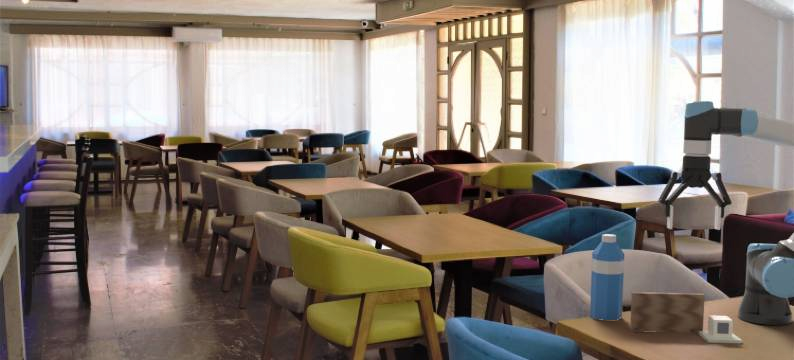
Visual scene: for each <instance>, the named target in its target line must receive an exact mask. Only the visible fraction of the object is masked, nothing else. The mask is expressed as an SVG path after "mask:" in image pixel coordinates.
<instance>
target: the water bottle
mask: <svg viewBox="0 0 794 360" xmlns="http://www.w3.org/2000/svg"><path fill="white" fill-rule="evenodd" d="M591 255H592V256H591V279H590V283H591V284H590V301H589V302H590V306H589V316H590V318H592V317H594V318H596V319H595V320H597V319H603V320H617V319H619V318H620V317H622V318H623V300H624V299H623V298H624V295H623V294H624V278H625V277H624V275H625V273H624V272H625V253H624V251H623V250H622V248H621V247H620V246H619V244H618V243H617V235H616V234H611V233H605V234H601V241H600V243H599V244H598V245H597V246H596V247H595V249H594V250H592V253H591ZM594 318H593V319H594ZM603 320H602V321H603Z"/></svg>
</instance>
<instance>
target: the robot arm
mask: <svg viewBox="0 0 794 360" xmlns="http://www.w3.org/2000/svg"><path fill="white" fill-rule="evenodd" d="M683 124H684V126H683V127H684V130H683V131H684V132H683V148H682V149H683V152H682V153H683V154H684V155H683V157H682V167H681V168H682V169H681V172H679V171H678V172H677V171H673V170H672V171H671V172H670V177H669V180H668V182H667V183H666V184H665V185H666V186H665V187H664V189H663V191H662V193H660V196H659V198H658V199H657V201H658V203H659V204H662V205H664V213H663V215H664V217H666V221H667V222H666V228H667V229H668V230H673V223H674V222H673V221H674V206H673V205H672V204H673V203H674V202H675V201H676V200H677V199H678V197H679V196H680V195H681V194H682V193H683V192H684V191H685V190H686V189H688V188H692V189H693V188H698V189H702V188H704V189H705V190H706V191H707V192H708V194H709V196H710V197H711V198H712V199H713V200H714V202H715V203H716V204H717V205H715V206H714V228H713V229H715V230H718V231H720V230H721V219H724V218H725V208H726V207H727V206H730V205H732V204H733V203H732V200H731V198H730V195H729V193H728V190H727V189H726V187H725V185H724V182H723V179H722V173H721V172H720V171H719V172H718V171H715V172H711V159H712V158H711V156H710V155H711V154H712V137H713V135H716V136H718V135H722V136H723V135H724V136H733V137H734V136H735V137H739V138H744V139H748V140H751V141H752V140H753V141H756V142H761V143H766V144H769V145H774V146H779V147H783V148H787V149H792V150H794V121H793V122H792V121H788V120H785V119H779V118H773V117H770V116H764V115H761V114H758V112H757V110H756V109H755V108H754V109H753V108H738V107H737V108H729V107H723V106H722V107H719V108H718V107H715V106H714V102H713V101H709V100H707V101H706V100H702V101H701V100H689V101H687V103H686V104H685V109H684V123H683ZM679 178H681V179H682V181H681V183H680V184H679V185H678V186H677V188H675V190H674V191H673V192H672V193H671V191H672V190H673V188H674V187H675V184H676V182H677V180H679ZM711 178H712V180H713V181H714V182H715V184H716V186H717V189H718V191H719V194H720V195H721V197H720V196H719V194H718V193H717V192H716V191H715V189H714V188H713V187H712V185H711V184H710V183H709V181H710V179H711ZM745 271H746V273H745V289H744V295H743V296H742V299H741V301H740V304H739V306H738V309H737V317H738V319H741V320H743V321H744V322H749V323H753V324H758V325H759V324H760V325H766V326H767V325H769V326H782V325H783V326H785V325H790V324H792V322H793V312H792V309H791V305H790V302H789V301H790V300H789V299H790V298H793V297H794V232H793V233H792V234H791V235H790V236H789V237H788V239H784V240H780V241H778V243H750V244H749V245H747V252H746V269H745Z"/></svg>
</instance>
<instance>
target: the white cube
mask: <svg viewBox="0 0 794 360" xmlns="http://www.w3.org/2000/svg"><path fill="white" fill-rule="evenodd" d="M707 331H708V334H709V335H711V336H712V337H713V338H732V333H733V319H732V318H730V317H729V316H728V315H708V321H707Z"/></svg>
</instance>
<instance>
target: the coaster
mask: <svg viewBox="0 0 794 360" xmlns="http://www.w3.org/2000/svg"><path fill="white" fill-rule="evenodd" d="M698 335H699V336H700V337H701V338H703V340H704V341H706V342H707V343H711V344H712V343H713V344H718V343H719V344H720V343H721V344H742V343H743V340H742V339H741V338H740V337H739V336H737V335H736V334H734V332H732V338H713V337H712V336H711V335H709V334H708V330H703V331H699V334H698Z"/></svg>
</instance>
